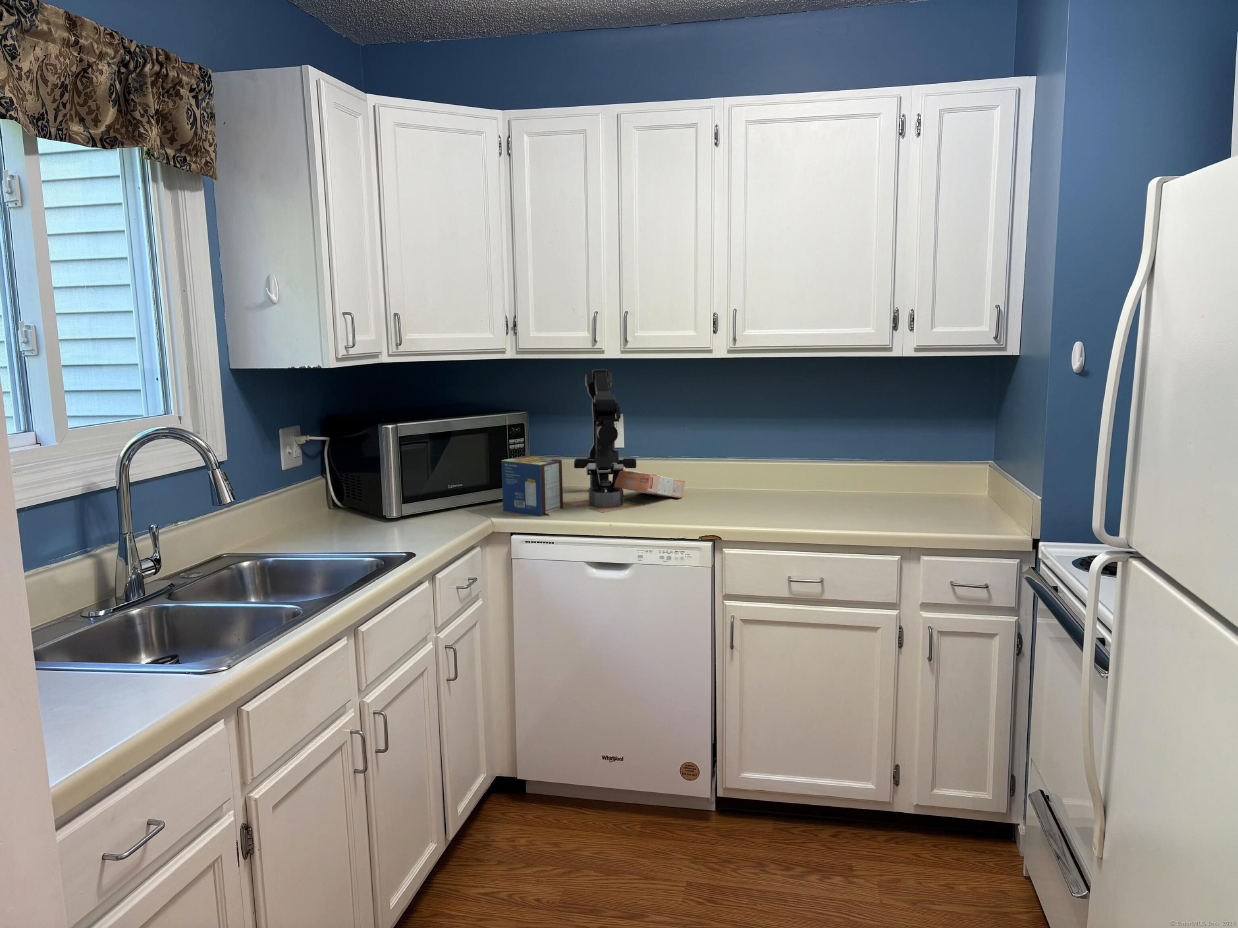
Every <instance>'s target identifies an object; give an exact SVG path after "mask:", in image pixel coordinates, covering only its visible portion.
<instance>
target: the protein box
mask: <svg viewBox="0 0 1238 928" xmlns="http://www.w3.org/2000/svg"><path fill="white" fill-rule="evenodd" d="M500 462H501V480H502V481H501V483H502V485H501V487H502V488H501V489H502V511H504V512H510V513H516V514H523V515H529V516H530V515H531V516H537V517H544V516H547V515H549V513H550V512H553V511H557V510H561V509H563V508H564V502H563V501H564V497H563V496H564V495H563V493H564V491H563V488H564V487H563V461H562V459H560V458H547V457H546V458H545V457H534V456H527V455H526V456H525V455H523V456H517V457H512V458H507V459H502V460H501V461H500Z"/></svg>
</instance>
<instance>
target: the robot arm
mask: <svg viewBox="0 0 1238 928" xmlns="http://www.w3.org/2000/svg"><path fill="white" fill-rule="evenodd" d="M612 374H613V373H612V372H610V371H609V370H608V369H606V368H599V369H598V368H597V369H596V368H595V369H592V370H591V371H590V372H587V373H586V374H585V378H584V382H585V383H584V384H585V387H586V389H587V393H588V395H589V397H590V398H591V400H592V401H591V413H592V442H593V443H592V445H591V447H590V448H589V451H588V456H576V457H575V459H574V461H573V469H585V468H586V475H587V476H589V482H590V485H589V486H590V487H589V488H591V487H594V488H597V487H598V490H599V491H600V481H602V480H610V478H609V477H610V475H612V480H611V481H612V491H613V489H614V485H615V482H616V479H617V476H618V474H619V472H620V471H623V470H625V469H636V468H637V458H636V456H623V458H621V459H620V453H619V450H615V449H616V448H615V447H616V446H615V445H616V440H617V439H618V437H619V436H618V435H619V432H618V429H617V428H616V426H615V422H617V423H618V422H620V420H621V416H622V415H621V407H620V404H619V402H618V401H616V396H615V395H614V394H613V393H611V392H610V391H611V390H610V388H611V387H612V386H613V376H612ZM624 468H625V469H624ZM588 490H589V489H587V490H586V492H587V491H588Z"/></svg>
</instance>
